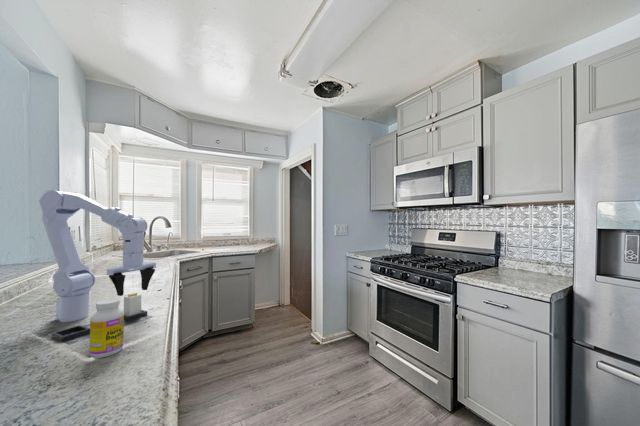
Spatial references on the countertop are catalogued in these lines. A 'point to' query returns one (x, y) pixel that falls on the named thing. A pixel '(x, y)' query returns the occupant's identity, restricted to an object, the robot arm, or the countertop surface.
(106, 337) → the supplement bottle
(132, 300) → the white rectangular block
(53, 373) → the countertop surface
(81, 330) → the panel
